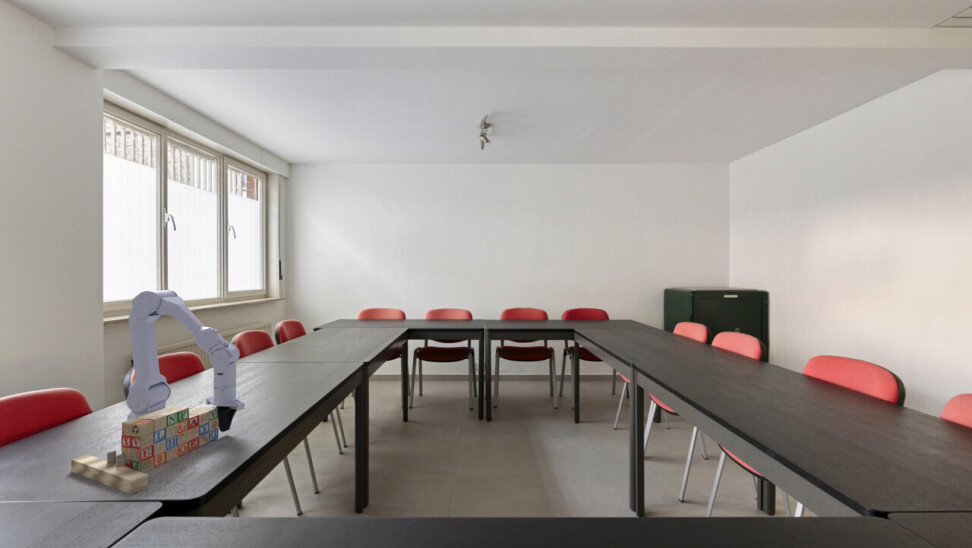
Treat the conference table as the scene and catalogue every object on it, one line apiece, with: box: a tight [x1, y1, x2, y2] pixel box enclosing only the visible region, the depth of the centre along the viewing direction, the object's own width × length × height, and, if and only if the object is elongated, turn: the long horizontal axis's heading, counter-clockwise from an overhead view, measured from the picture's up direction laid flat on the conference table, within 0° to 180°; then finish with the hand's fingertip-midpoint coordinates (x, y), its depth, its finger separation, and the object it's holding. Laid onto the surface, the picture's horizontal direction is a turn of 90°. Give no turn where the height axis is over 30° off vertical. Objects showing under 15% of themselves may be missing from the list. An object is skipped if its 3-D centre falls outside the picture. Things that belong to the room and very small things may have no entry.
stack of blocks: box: [120, 405, 220, 473], centre depth 106 cm, size 21×6×12 cm, turn 167°
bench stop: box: [70, 450, 149, 495], centre depth 93 cm, size 26×4×6 cm, turn 68°
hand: (224, 430), depth 118 cm, fingers closed
